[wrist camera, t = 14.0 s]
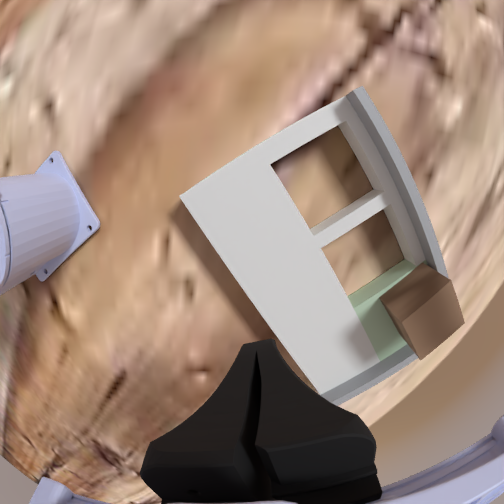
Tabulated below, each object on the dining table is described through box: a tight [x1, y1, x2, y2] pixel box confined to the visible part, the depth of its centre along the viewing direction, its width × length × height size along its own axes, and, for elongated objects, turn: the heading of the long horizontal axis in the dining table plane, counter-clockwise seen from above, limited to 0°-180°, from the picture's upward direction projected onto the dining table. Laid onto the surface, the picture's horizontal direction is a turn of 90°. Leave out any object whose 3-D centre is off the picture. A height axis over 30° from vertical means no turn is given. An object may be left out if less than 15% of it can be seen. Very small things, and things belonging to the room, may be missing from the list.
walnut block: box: [379, 262, 465, 360], centre depth 18 cm, size 4×4×4 cm
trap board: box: [179, 86, 449, 406], centre depth 20 cm, size 14×21×4 cm, turn 33°
